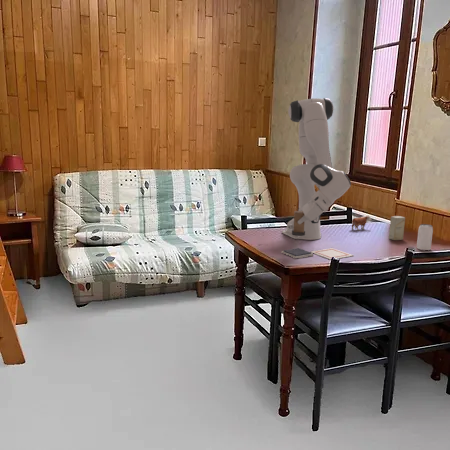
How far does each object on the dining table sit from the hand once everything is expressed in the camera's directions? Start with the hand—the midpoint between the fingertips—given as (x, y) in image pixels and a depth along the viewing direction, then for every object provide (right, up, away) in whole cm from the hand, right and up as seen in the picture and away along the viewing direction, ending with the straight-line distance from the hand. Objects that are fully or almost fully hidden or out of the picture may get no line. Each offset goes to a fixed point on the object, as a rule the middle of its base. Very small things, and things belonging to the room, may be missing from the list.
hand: (297, 221), depth 215 cm
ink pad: (0, -15, +3) cm, 15 cm away
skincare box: (+58, -9, +37) cm, 69 cm away
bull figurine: (+45, -4, +58) cm, 73 cm away
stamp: (+1, -6, +1) cm, 6 cm away
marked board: (+17, -15, +5) cm, 23 cm away
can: (+65, -13, +18) cm, 69 cm away
